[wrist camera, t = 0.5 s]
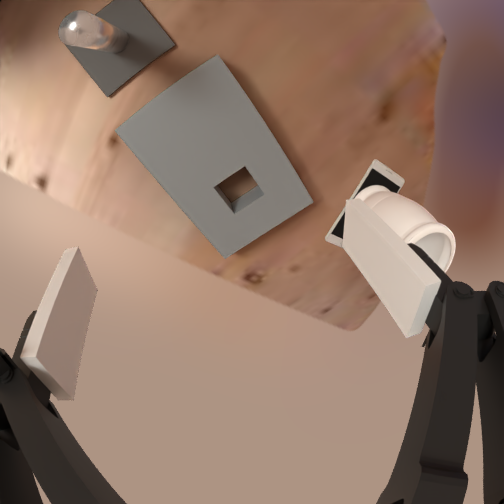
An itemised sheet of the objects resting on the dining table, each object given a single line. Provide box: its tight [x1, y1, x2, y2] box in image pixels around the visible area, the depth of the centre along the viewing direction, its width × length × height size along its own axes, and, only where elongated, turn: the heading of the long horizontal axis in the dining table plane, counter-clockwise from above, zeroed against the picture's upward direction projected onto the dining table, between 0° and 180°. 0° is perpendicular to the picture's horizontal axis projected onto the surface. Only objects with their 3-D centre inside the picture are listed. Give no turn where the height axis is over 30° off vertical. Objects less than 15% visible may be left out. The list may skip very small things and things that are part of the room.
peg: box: [58, 10, 129, 53], centre depth 21 cm, size 3×3×14 cm
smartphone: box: [325, 159, 405, 249], centre depth 46 cm, size 8×1×15 cm
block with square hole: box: [115, 55, 313, 259], centre depth 37 cm, size 22×14×4 cm, turn 32°
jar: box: [354, 185, 456, 273], centre depth 40 cm, size 11×10×15 cm
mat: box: [65, 0, 175, 97], centre depth 27 cm, size 10×10×1 cm
